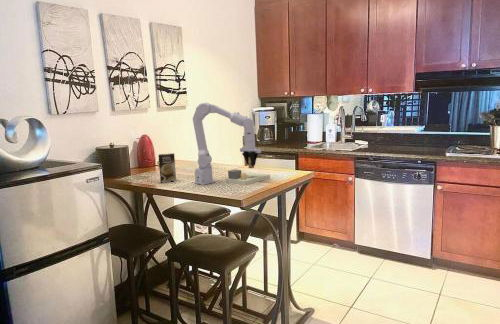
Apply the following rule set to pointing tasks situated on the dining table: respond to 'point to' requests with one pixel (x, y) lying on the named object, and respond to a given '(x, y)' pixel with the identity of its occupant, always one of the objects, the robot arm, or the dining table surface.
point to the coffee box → (167, 167)
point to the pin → (250, 163)
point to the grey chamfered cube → (234, 174)
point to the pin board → (248, 178)
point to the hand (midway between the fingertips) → (251, 165)
